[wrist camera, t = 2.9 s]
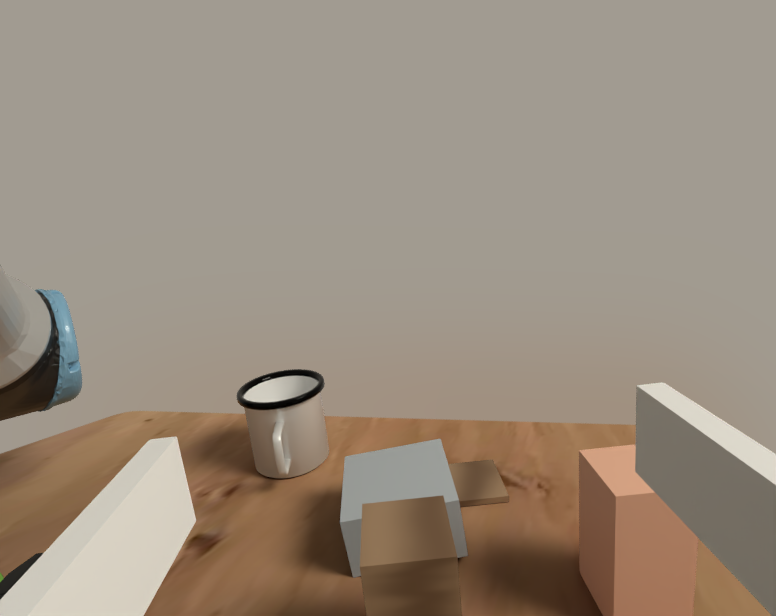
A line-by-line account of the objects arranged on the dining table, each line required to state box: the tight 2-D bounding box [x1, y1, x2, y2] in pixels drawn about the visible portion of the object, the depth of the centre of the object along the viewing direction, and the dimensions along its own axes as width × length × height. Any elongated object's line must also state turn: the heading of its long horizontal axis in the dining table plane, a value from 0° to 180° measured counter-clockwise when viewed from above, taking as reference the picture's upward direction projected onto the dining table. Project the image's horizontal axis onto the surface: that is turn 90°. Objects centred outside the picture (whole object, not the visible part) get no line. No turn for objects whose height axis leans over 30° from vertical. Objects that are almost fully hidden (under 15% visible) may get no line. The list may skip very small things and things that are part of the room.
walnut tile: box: [448, 460, 509, 507], centre depth 45 cm, size 6×6×1 cm
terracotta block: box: [579, 444, 698, 616], centre depth 31 cm, size 5×5×10 cm
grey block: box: [340, 439, 468, 577], centre depth 40 cm, size 9×9×5 cm
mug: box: [237, 369, 329, 478], centre depth 51 cm, size 12×9×9 cm
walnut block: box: [360, 495, 462, 616], centre depth 28 cm, size 5×5×10 cm
